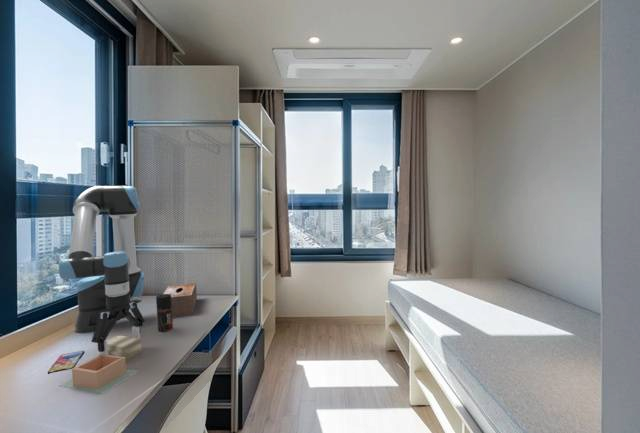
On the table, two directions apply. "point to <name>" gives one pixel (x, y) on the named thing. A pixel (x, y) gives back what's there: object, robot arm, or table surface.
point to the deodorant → (164, 312)
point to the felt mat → (106, 387)
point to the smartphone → (66, 362)
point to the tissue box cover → (182, 298)
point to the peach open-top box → (98, 371)
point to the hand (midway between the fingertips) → (121, 351)
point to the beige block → (124, 346)
